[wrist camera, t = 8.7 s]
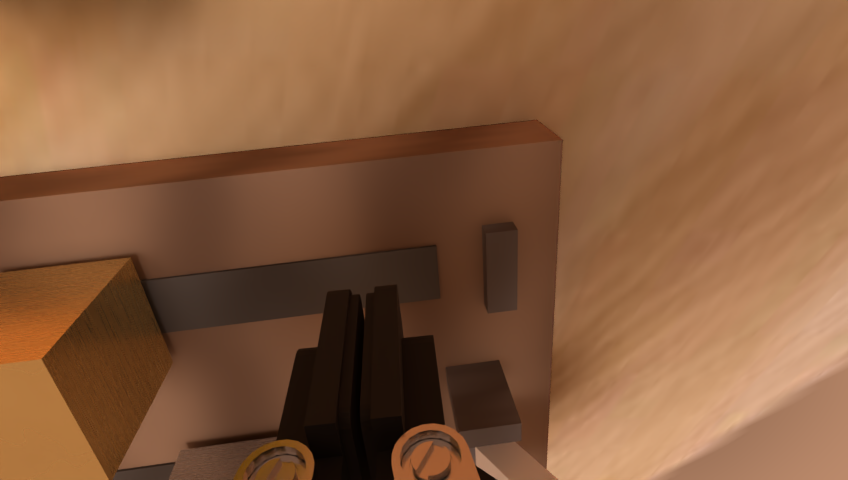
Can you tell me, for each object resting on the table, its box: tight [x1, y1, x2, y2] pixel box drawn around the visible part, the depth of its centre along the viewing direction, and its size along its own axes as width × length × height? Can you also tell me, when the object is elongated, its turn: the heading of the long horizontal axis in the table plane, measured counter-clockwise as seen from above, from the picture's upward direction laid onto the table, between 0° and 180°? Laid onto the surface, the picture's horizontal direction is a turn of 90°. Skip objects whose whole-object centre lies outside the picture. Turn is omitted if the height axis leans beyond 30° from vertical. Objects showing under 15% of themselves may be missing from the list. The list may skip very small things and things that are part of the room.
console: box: [0, 120, 563, 480], centre depth 17 cm, size 22×15×6 cm
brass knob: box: [0, 257, 173, 480], centre depth 13 cm, size 4×4×4 cm
